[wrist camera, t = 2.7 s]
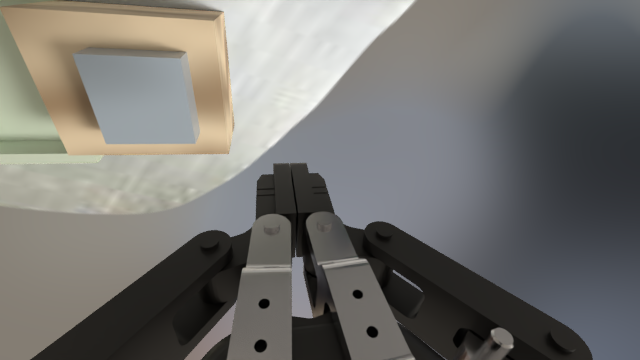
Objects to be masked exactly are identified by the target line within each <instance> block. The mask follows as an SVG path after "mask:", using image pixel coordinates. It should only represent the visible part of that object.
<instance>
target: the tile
mask: <svg viewBox="0 0 640 360" xmlns="http://www.w3.org/2000/svg"><path fill="white" fill-rule="evenodd" d="M72 55H73V58H74V60H75V63H76V66H77V68H78V71H79V74H80V76H81V79H82V82H83V84H84V87H85V90H86V92H87V95H88V97H89V100H90V103H91V105H92V108H93V111H94V113H95V116H96V119H97V121H98V124H99V127H100V129H101V132H102V135H103V137H104V140H105V143H106V144H196V142H197V139H198V137H199V134H200V127H199V121H198V115H197V109H196V103H195V97H194V91H193V85H192V79H191V73H190V67H189V61H188V55H187V52H179V51H158V50H137V49H115V48H94V47H88V48H85V49H83V50H80V51H78V52H75V53H73V54H72Z"/></svg>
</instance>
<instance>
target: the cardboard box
mask: <svg viewBox="0 0 640 360" xmlns="http://www.w3.org/2000/svg"><path fill="white" fill-rule="evenodd" d="M0 10H1V12H2V14H3V16H4V18H5V21H6V23H7V25H8V27H9V29H10V31H11V33H12V35H13V38H14V40H15V42H16V44H17V46H18V48H19V50H20V53H21V55H22V57H23V59H24V61H25V63H26V65H27V68H28V70H29V72H30V74H31V76H32V78H33V80H34V82H35V85H36V87H37V89H38V91H39V93H40V95H41V97H42V100H43V102H44V104H45V106H46V108H47V110H48V112H49V115H50V117H51V119H52V121H53V123H54V125H55V127H56V130H57V132H58V134H59V136H60V138H61V140H62V142H63V144H64V147H65V149H66V151H67V153H68V155H159V154H229V150H230V145H231V139H232V134H233V129H234V116H233V106H232V95H231V84H230V74H229V63H228V53H227V42H226V31H225V21H224V12H218V11H204V10H190V9H176V8H162V7H148V6H134V5H120V4H106V3H92V2H78V1H64V0H53V1H44V2H36V3H27V4H18V5H9V6H1V7H0ZM88 47H94V48H115V49H137V50H158V51H179V52H187V55H188V61H189V67H190V73H191V79H192V85H193V91H194V97H195V103H196V109H197V115H198V121H199V127H200V134H199V137H198V139H197V142H196V144H106V143H105V140H104V137H103V135H102V132H101V129H100V127H99V124H98V121H97V119H96V116H95V113H94V111H93V108H92V105H91V103H90V100H89V97H88V95H87V92H86V90H85V87H84V84H83V82H82V79H81V76H80V74H79V71H78V68H77V66H76V63H75V60H74V58H73V55H72V54H73V53H75V52H78V51H80V50H83V49H85V48H88Z"/></svg>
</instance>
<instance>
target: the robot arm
mask: <svg viewBox="0 0 640 360" xmlns="http://www.w3.org/2000/svg"><path fill="white" fill-rule="evenodd" d="M273 169H274V170H273V171H274V174H273V175H272V174H269V175H261V177H260V178H259V180H258V181H257V197H256V221H255V222H254V223H253V226H252V228H251V229H249V230H248V231H246V232H245V233H243V234H240V235H237V236H234V237H230V236H229V235H228V234H227V233H225V232H222V231H218V230H211V231H206V232H203V233H200V234H198V235H197V236H195V237H194V238H192V239H191V240H190V241H188V242H187V243H186V244H184V245H183V246H182V247H180V248H179V249H178V250H176V251H175V252H174V253H172V254H171V255H170V256H168V257H167V258H166V259H164V260H163V261H162V262H160V263H159V264H158V265H156V266H155V267H154V268H152V269H151V270H150V271H148V272H147V273H146V274H144V275H143V276H142V277H140V278H139V279H138V280H136V281H135V282H134V283H132V284H131V285H130V286H128V287H127V288H126V289H124V290H123V291H122V292H120V293H119V294H118V295H116V296H115V297H114V298H112V299H111V300H110V301H108V302H107V303H106V304H104V305H103V306H102V307H100V308H99V309H97V310H96V311H95V312H94V313H92V314H91V315H90V316H88V317H87V318H86V319H84V320H83V321H82V322H80V323H79V324H78V325H76V326H75V327H74V328H72V329H71V330H69V331H68V332H67V333H65V334H64V335H63V336H62V337H60V338H59V339H57V340H56V341H55V342H54V343H52V344H51V345H49V346H48V347H47V348H45V349H44V350H43V351H41V352H40V353H39V354H37V355H36V356H35V357H34V358H32V359H31V360H184V359H185V358H186V357H187V356H188V354H189V353H190V352H191V351H192V350H193V349H194V348H195V347H196V346H197V344H198V343H199V342H200V341H201V340H202V339H203V338H204V337H205V335H206V334H207V333H208V332H209V331H210V330H211V329H212V328H213V327H214V326H215V325H216V324H217V322H218V321H219V320H220V319H221V318H222V317H223V316H224V315H225V313H226V312H227V311H228V310H229V309H230V308H231V307H232V306H233V305H234V303H235V302H236V300H237V303H236V308H235V314H234V320H233V326H232V333H231V334H230V335H228V336H227V337H225V338H224V339H222V340H221V341H220V342H218V343H217V344H216V345H215V346H214V347H213V348H212V349H211V350H210V351H209V352H207V354H206V355H205V356H204V357H203V358H202V360H445V359H444V358H442V357H441V356H440V355H438V353H439V354H441V355H442V356H443V357H445V358H446V359H447V360H593V358H592V354H591V352H590V350H589V348H588V346H587V345H586V344H585V342H584V341H583V340H582V339H581V338H580V336H579V335H578V334H576V333H575V332H574V331H573V330H572V329H570V328H569V327H567V326H566V325H564V324H562V323H561V322H559V321H557V320H555V319H554V318H552V317H550V316H548V315H547V314H545V313H543V312H542V311H540V310H538V309H537V308H535V307H533V306H531V305H530V304H528V303H526V302H524V301H523V300H521V299H519V298H518V297H516V296H514V295H512V294H511V293H509V292H507V291H505V290H504V289H502V288H500V287H499V286H496V285H495V284H493V283H492V282H490V281H488V280H487V279H484V278H483V277H481V276H480V275H478V274H476V273H475V272H472V271H471V270H469V269H468V268H466V267H464V266H462V265H461V264H459V263H457V262H455V261H454V260H452V259H450V258H449V257H447V256H445V255H444V254H442V253H440V252H438V251H437V250H435V249H433V248H431V247H430V246H428V245H426V244H425V243H423V242H421V241H419V240H418V239H416V238H414V237H412V236H411V235H409V234H407V233H406V232H404V231H402V230H400V229H399V228H397V227H395V226H394V225H391V224H389V223H386V222H379V221H378V222H372V223H370V224H368V225H367V227H366V228H365V230H363V229H357V228H352V227H349V226H346V225H344V224H343V222H342V221H341V219H340V218H339V217H338V216H337V215H335V213H334V210H333V206H332V203H331V201H330V197H329V194H328V190H327V188H326V184H325V181H324V179H323V178H322V177H321V176H320V175H319V174H318V173H309V172H308V168H307V164H306V163H290V164H289V163H278V164H273ZM295 248H296V256H297V257H303V262H304V266H303V275H304V279H305V284H306V288H307V292H308V297H309V301H310V305H311V310H312V314H313V318H310V319H308V318H301V317H293V316H292V280H291V279H292V274H291V272H292V271H291V270H292V258H293V257H295ZM393 270H395V271H396V272H398V273H400V274H401V275H402V276H404V277H405V278H407V279H408V280H410V281H411V282H413V283H414V284H416V285H417V286H418V287H420V289H421V290H422V291H423V292H421V291H420V290H418V289H417V288H415V287H414V286H412V285H411V284H409V283H408V282H406V281H405V280H403V279H402V278H401V277H399V276H398V275H396V274H395V273H393ZM395 319H396V320H397V321H398V322H400V323H401V324H402V325H401V324H400V323H398V322H396V320H395ZM404 326H405V327H404ZM408 329H409V330H408ZM413 333H414V334H413ZM417 336H418V337H419V338H420V339H419V338H418V337H417ZM422 340H423V341H424V342H425V343H424V342H423V341H422ZM426 343H427V344H428V345H429V346H430V347H432V348H433V349H434V350H436V351H437V352H438V353H436V352H435V351H434V350H432V348H430V347H429V346H428V345H427V344H426Z"/></svg>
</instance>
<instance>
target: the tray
mask: <svg viewBox="0 0 640 360" xmlns="http://www.w3.org/2000/svg"><path fill="white" fill-rule="evenodd" d="M44 1H53V0H0V7H1V6H9V5H18V4H27V3H36V2H44ZM103 156H104V155H68V153H67V151H66V149H65V147H64V144H63V142H62V140H61V138H60V136H59V134H58V132H57V130H56V127H55V125H54V123H53V121H52V119H51V117H50V115H49V112H48V110H47V108H46V106H45V104H44V102H43V100H42V97H41V95H40V93H39V91H38V89H37V87H36V85H35V82H34V80H33V78H32V76H31V74H30V72H29V70H28V68H27V65H26V63H25V61H24V59H23V57H22V55H21V53H20V50H19V48H18V46H17V44H16V42H15V40H14V38H13V35H12V33H11V31H10V29H9V27H8V25H7V23H6V21H5V18H4V16H3V14H2V12H1V10H0V164H64V163H98V162H99V161H100V160H101V159H102V157H103Z"/></svg>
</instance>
